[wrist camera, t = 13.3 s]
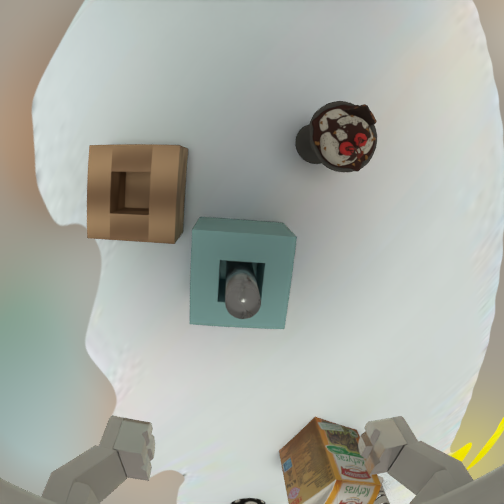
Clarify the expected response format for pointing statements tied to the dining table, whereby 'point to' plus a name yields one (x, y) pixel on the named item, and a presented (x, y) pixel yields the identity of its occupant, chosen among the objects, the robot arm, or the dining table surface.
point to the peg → (241, 290)
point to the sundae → (339, 137)
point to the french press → (383, 496)
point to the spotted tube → (248, 501)
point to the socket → (136, 192)
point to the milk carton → (327, 466)
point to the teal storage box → (245, 250)
